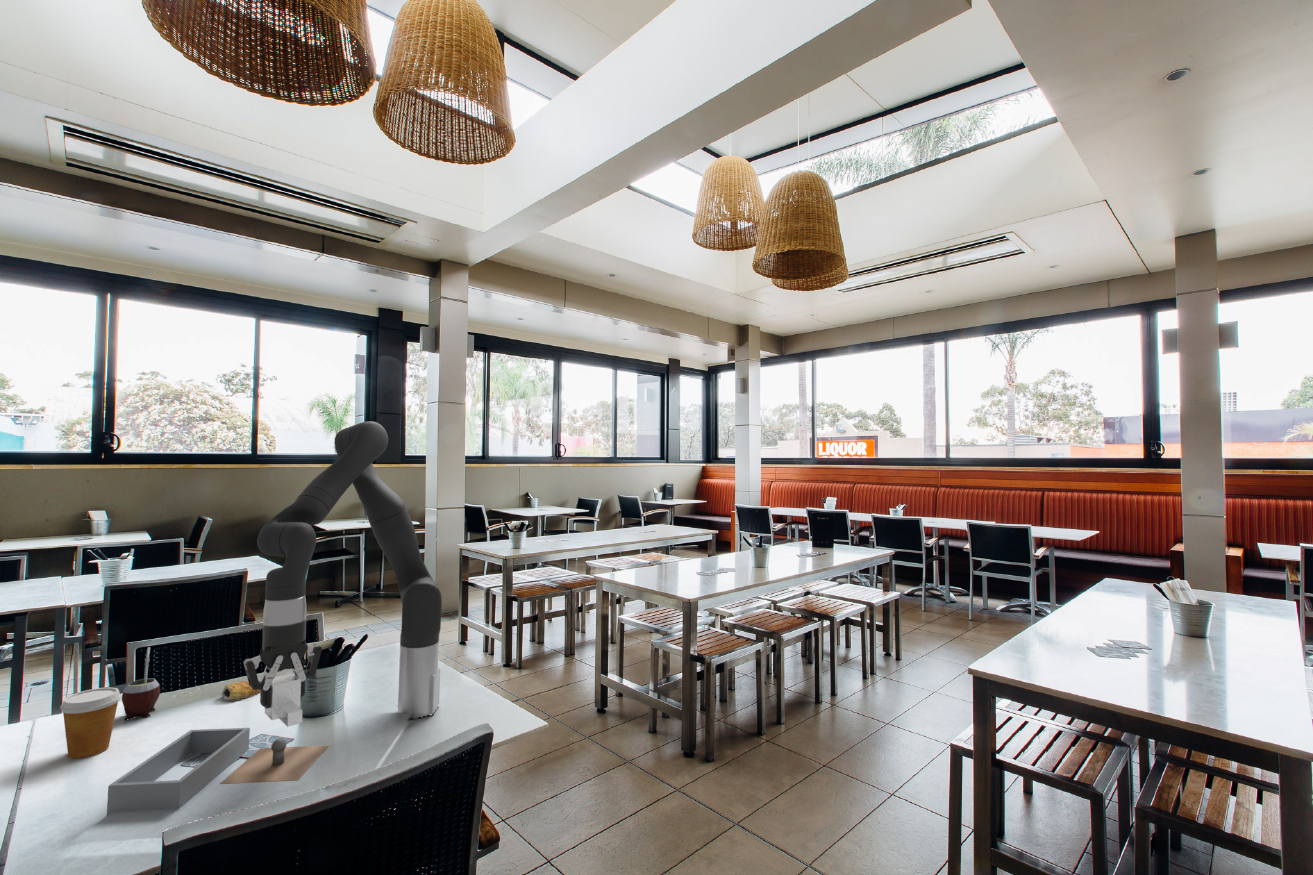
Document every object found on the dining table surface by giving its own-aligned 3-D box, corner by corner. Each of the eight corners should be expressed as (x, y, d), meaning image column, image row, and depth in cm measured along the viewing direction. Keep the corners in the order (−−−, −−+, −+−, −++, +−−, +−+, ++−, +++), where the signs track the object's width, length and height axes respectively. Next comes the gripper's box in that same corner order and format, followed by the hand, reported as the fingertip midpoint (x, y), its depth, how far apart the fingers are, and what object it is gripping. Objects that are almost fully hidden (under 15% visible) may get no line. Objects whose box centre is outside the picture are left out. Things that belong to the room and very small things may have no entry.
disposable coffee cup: (129, 745, 129) (132, 690, 130) (74, 766, 120) (77, 706, 121) (101, 738, 132) (104, 684, 133) (46, 758, 123) (49, 700, 124)
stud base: (329, 752, 127) (330, 722, 127) (297, 787, 113) (298, 754, 114) (260, 755, 126) (261, 725, 126) (219, 791, 112) (221, 758, 112)
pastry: (257, 687, 164) (258, 673, 164) (270, 692, 160) (270, 678, 160) (218, 698, 155) (219, 683, 156) (231, 704, 152) (232, 689, 152)
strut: (257, 705, 123) (258, 672, 124) (284, 698, 127) (285, 666, 127) (280, 728, 113) (281, 693, 113) (309, 720, 116) (309, 685, 117)
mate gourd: (133, 723, 140) (136, 659, 140) (111, 718, 142) (114, 655, 143) (167, 710, 147) (170, 650, 148) (146, 706, 149) (149, 646, 150)
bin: (189, 758, 124) (190, 729, 124) (248, 756, 125) (249, 727, 125) (106, 820, 102) (108, 785, 103) (178, 816, 104) (180, 782, 104)
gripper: (317, 609, 128) (314, 688, 128) (238, 622, 118) (235, 708, 117) (329, 615, 123) (327, 697, 123) (248, 630, 113) (245, 720, 112)
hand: (282, 702), depth 120 cm, fingers closed on strut, 5 cm apart
